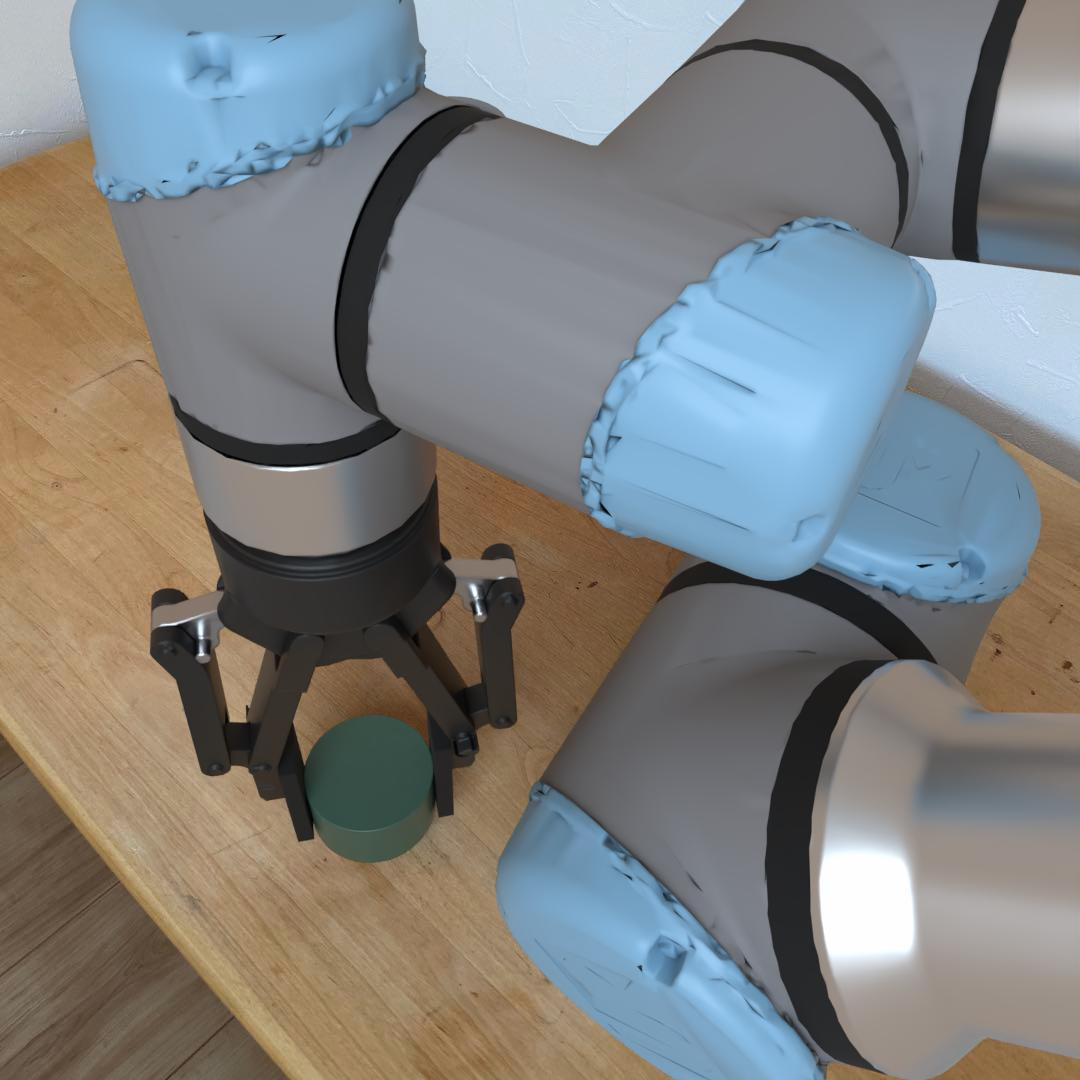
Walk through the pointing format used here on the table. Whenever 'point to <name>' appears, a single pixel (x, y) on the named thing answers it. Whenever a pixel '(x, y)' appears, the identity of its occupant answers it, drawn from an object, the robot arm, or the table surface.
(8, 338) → the table surface
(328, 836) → the green cylinder
